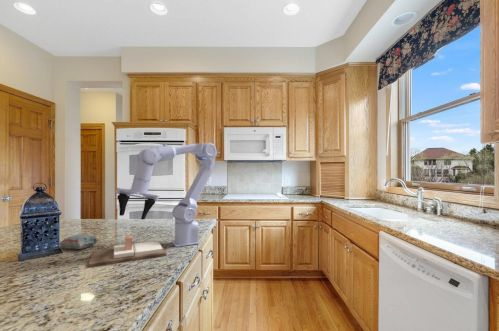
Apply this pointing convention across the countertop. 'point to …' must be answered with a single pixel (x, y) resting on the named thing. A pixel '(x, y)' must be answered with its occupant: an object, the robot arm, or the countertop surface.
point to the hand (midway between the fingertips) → (132, 217)
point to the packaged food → (78, 242)
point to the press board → (108, 258)
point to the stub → (124, 248)
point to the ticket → (147, 248)
